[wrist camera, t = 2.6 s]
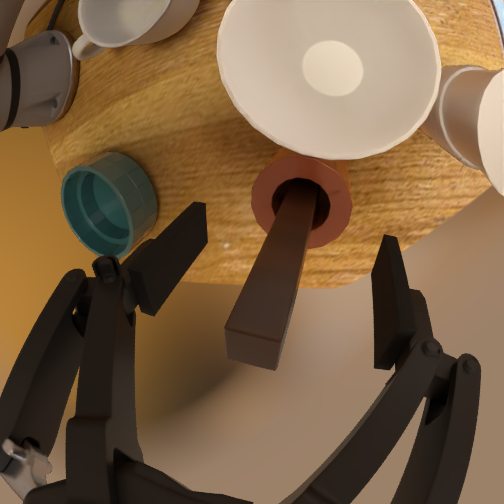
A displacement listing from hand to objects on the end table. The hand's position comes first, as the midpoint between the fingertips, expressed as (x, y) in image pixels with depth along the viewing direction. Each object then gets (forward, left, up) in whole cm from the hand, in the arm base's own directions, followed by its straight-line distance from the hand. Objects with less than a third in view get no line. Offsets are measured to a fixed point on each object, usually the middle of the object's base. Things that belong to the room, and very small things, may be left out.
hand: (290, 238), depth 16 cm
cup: (-10, +1, -13) cm, 17 cm away
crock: (0, 0, -13) cm, 13 cm away
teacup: (-17, -17, -13) cm, 28 cm away
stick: (0, 0, -12) cm, 12 cm away
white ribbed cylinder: (-9, +11, -13) cm, 20 cm away
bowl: (+6, -24, -13) cm, 28 cm away
